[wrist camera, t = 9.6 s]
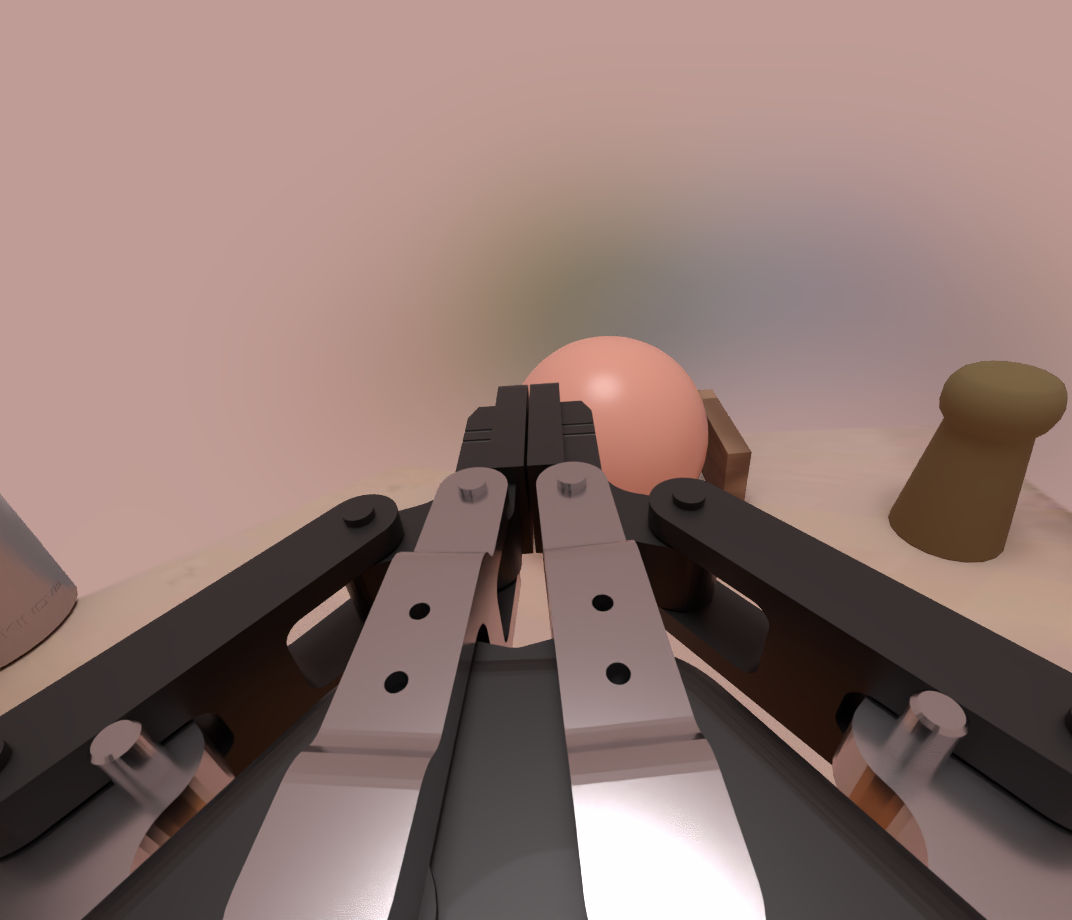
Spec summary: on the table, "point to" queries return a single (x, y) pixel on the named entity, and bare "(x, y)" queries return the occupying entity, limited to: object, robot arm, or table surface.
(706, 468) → the stall
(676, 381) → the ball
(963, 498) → the cork
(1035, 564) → the table surface
